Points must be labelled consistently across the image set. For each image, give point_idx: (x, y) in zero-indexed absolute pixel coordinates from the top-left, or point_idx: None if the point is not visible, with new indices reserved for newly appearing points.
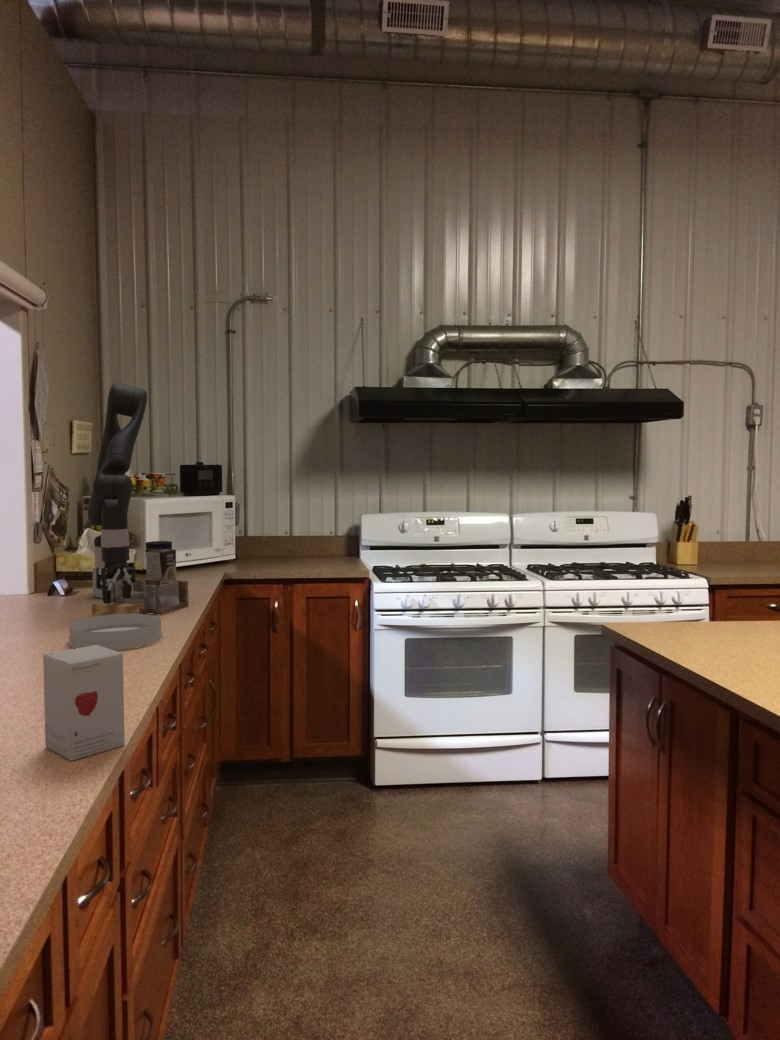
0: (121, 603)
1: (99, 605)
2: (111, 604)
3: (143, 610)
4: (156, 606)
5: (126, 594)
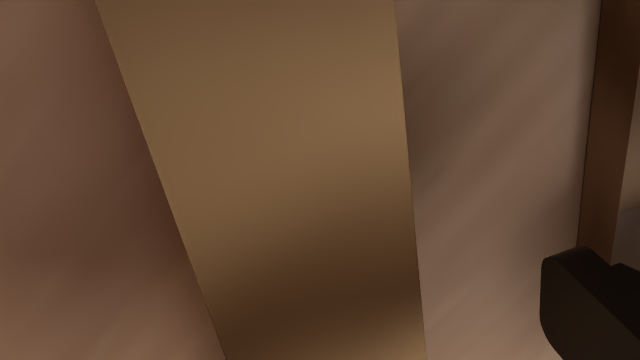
0: (409, 299)
1: (151, 151)
2: (289, 267)
3: (606, 194)
4: None
5: (582, 344)
